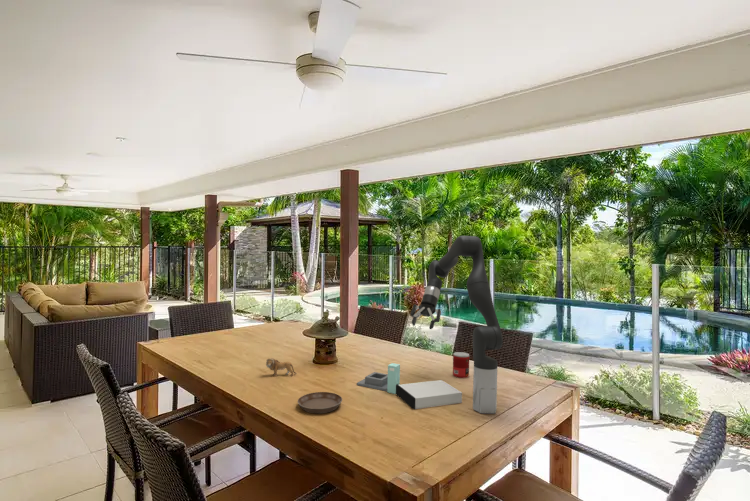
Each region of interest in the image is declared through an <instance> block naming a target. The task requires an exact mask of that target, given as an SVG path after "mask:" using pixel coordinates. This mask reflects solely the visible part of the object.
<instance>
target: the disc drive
mask: <svg viewBox="0 0 750 501" xmlns="http://www.w3.org/2000/svg"><path fill="white" fill-rule="evenodd" d="M395 395H396V396H397V397H398V398H399V399H400V400H402V401H403V402H404V403H405V404H407V405H408V406H409V407H410V408H412V410H417V409H419V410H420V409H425V408H426V409H427V408H431V407H432V408H433V407H440V406H442V407H443V406H448V405H455V404H461V403H463V392H462V391H460V390H459V389H457V388H455V387H453V386H452V385H451V384H449V383H447V382H446V381H444V380H442V379H439V380H427V381H420V382H412V383H411V382H410V383H403V384H400V385H398V384H396V394H395Z"/></svg>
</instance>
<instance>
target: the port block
mask: <svg viewBox="0 0 750 501" xmlns="http://www.w3.org/2000/svg"><path fill="white" fill-rule="evenodd" d="M356 386H359V387H363V388H369V389H373V390H377V391H378V390H379V391H384V392H387V386H388V373H387V374H386V373H382V372H376V371H374V372H372V373H369V374H368V375H365V377H364V378H363V379H361V380H359V381H358V382H356Z"/></svg>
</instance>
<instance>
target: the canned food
mask: <svg viewBox="0 0 750 501" xmlns="http://www.w3.org/2000/svg"><path fill="white" fill-rule="evenodd" d="M452 355H453V356H452V375H453V377H455V378H459V379H466V378H469V375H470V354H469V353H468V352H462V351H461V352H460V351H457V352H456V351H455V352H453V353H452Z"/></svg>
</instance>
